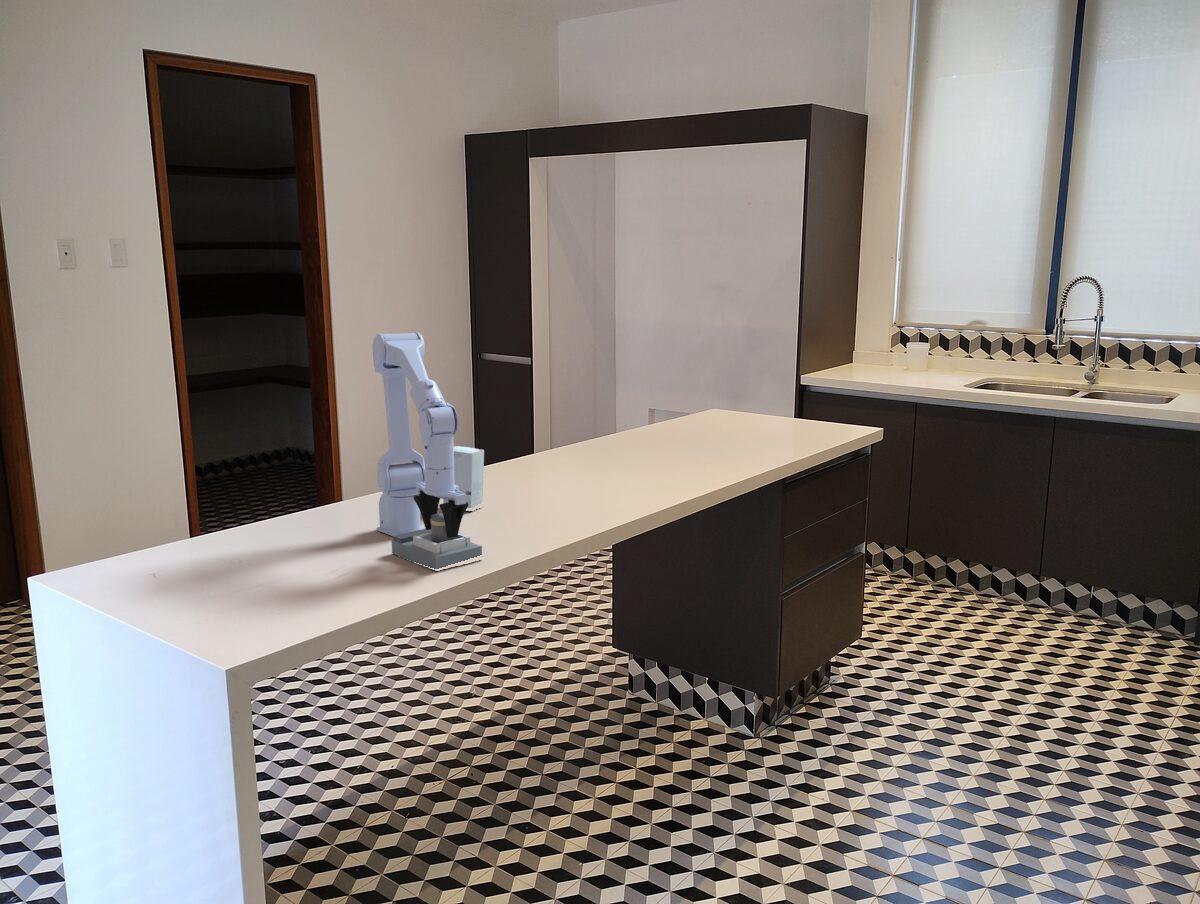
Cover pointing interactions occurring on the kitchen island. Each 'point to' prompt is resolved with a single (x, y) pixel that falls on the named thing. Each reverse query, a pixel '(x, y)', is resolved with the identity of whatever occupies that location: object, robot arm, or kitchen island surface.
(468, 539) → the camera body
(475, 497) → the skincare box
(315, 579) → the kitchen island surface
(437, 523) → the lens
